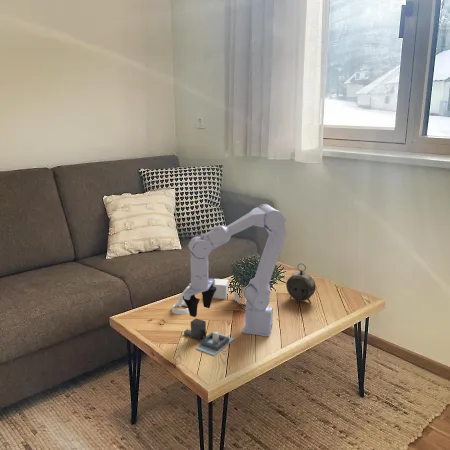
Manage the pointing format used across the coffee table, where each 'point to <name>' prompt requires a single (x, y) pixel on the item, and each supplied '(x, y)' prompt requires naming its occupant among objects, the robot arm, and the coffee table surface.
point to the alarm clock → (301, 286)
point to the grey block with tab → (204, 335)
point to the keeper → (215, 341)
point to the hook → (179, 304)
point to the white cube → (221, 288)
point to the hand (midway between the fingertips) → (200, 311)
